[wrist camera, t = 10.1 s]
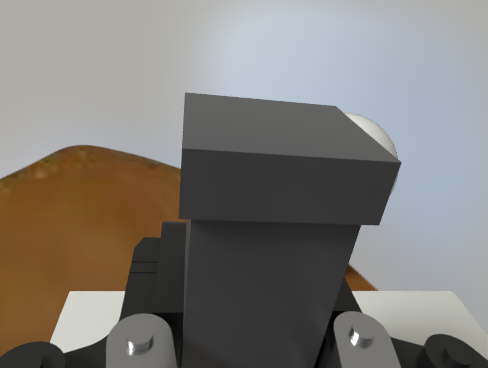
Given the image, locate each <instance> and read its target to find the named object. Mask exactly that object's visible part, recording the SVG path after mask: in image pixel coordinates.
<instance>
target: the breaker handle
mask: <svg viewBox="0 0 488 368" xmlns="http://www.w3.org/2000/svg"><path fill="white" fill-rule="evenodd" d="M400 165H401V162H400V161H399V160H398V159H397V158H396V157H395V156H393V155H392V154H391V153H390V152H389V151H387V150H386V149H385V148H384V147H383V146H382V145H380V144H379V143H378V142H377V141H376V140H375V139H373V138H372V137H371V136H370V135H369V134H368V133H366V132H365V131H364V130H363V129H362V128H361V127H359V126H358V125H357V124H356V123H355V122H354V121H352V120H351V119H350V118H349V117H348V116H347V115H345V114H344V113H343V112H342V111H341V110H339V109H338V108H337V107H336V106H326V105H317V104H316V105H315V104H306V103H294V102H283V101H272V100H261V99H251V98H239V97H228V96H217V95H206V94H195V93H185V105H184V123H183V142H182V162H181V182H180V203H179V219H187V228H186V244H185V277H184V316H183V331H182V346H181V361H180V368H314V365H315V362H316V359H317V356H318V353H319V350H320V347H321V344H322V341H323V338H324V335H325V332H326V329H327V326H328V323H329V320H330V317H331V314H332V311H333V308H334V305H335V302H336V299H337V296H338V293H339V290H340V287H341V284H342V281H343V278H344V275H345V272H346V269H347V266H348V263H349V260H350V257H351V254H352V251H353V248H354V245H355V242H356V239H357V236H358V233H359V230H360V227H361V225H379V224H380V221H381V218H382V215H383V213H384V210H385V207H386V204H387V201H388V199H389V196H390V193H391V190H392V188H393V185H394V182H395V179H396V177H397V174H398V171H399V168H400Z"/></svg>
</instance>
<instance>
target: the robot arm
mask: <svg viewBox="0 0 488 368" xmlns="http://www.w3.org/2000/svg"><path fill="white" fill-rule="evenodd" d="M185 244H186V222H167V221H163V223H162V232H161V238H146V237H144V238H143V239H142V240H141V241H140V243H139V244H138V245H137V246H136V247H135V248H134V253H133V257H132V264H131V267H130V271H129V276H128V281H127V286H126V290H125V295H124V300H123V304H122V309H121V314H120V318H119V321H118V323H117V324H116V325H115V326H114V327H113V328H112V329H111V331H110V333H109V334H108V335H107V336H106V337H104V338H103V339H101V340H100V341H98V342H96V343H94V344H91V345H89V346H86V347H83V348H79V349H76V350H73V351H69V352H66V353H63V351H62V350H61V349H60V348H59V347H58V346H56V345H54V344H52V343H48V342H31V343H26V344H23V345H20V346H18V347H15V348H13V349H12V350H10V351H8V352H7V353H5V354H4V355H2V356H1V357H0V368H180V361H181V346H182V331H183V316H184V277H185ZM314 368H488V360H487V359H486V358H484V357H483V356H482V355H481V354H480V353H478V352H477V351H476V350H475V349H473V348H472V347H471V346H469V345H468V344H467V343H465V342H464V341H462V340H460V339H458V338H456V337H453V336H450V335H446V334H434V335H431V336H430V337H429V338H428V339H427V340H426V342H425V344H424V346H422V345H418V344H415V343H411V342H407V341H403V340H399V339H396V338H393V337H390V336H389V334H388V332H387V330H386V329H385V328H384V327H383V325H382V324H380V323H379V322H378V321H377V320H375V319H374V318H372V317H371V316H369V315H366V314H364V313H363V312H362V311H361V309H360V307H359V305H358V303H357V301H356V299H355V297H354V295H353V293H352V291H351V289H350V287H349V285H348V283H347V282H346V280H345V278H343V281H342V284H341V287H340V290H339V293H338V296H337V299H336V302H335V305H334V308H333V311H332V314H331V317H330V320H329V323H328V326H327V329H326V332H325V335H324V338H323V341H322V344H321V347H320V350H319V353H318V356H317V359H316V362H315V365H314Z"/></svg>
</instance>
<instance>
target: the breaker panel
mask: <svg viewBox="0 0 488 368" xmlns="http://www.w3.org/2000/svg"><path fill="white" fill-rule="evenodd" d="M352 293H353V295H354V297H355V299H356V301H357V303H358V305H359V307H360V309H361V311H362V312H363V313H364V314H366V315H369V316H371V317H372V318H374V319H375V320H377V321H378V322H379V323H380V324H382V325H383V327H384V328H385V329H386V330H387V332H388V334H389V336H390V337H393V338H396V339H399V340H403V341H407V342H411V343H415V344H418V345H422V346H424V344H425V342H426V340H427V339H428V338H429V337H430V336H431V335H434V334H446V335H450V336H453V337H456V338H458V339H460V340H462V341H464V342H465V343H467V344H468V345H469V346H471V347H472V348H473V349H475V350H476V351H477V352H478V353H480V354H481V355H482V356H483V357H484V358H486V359H487V360H488V333H487V332H486V331H485V330H484V328H483V327H482V326H481V325H480V324H479V323H478V321H477V320H476V319H475V318H474V317H473V315H472V314H471V313H470V312H469V311H468V310H467V308H466V307H465V306H464V305H463V304H462V302H461V301H460V300H459V299H458V298H457V297H456V295H455V294H454V293H453V292H452V291H352ZM124 295H125V291H70V292H69V295H68V297H67V300H66V303H65V305H64V308H63V310H62V313H61V315H60V318H59V320H58V323H57V326H56V328H55V331H54V333H53V336H52V338H51V341H50V343H52V344H54V345H56V346H58V347H59V348H60V349H61V350H62V351H63V353H66V352H69V351H73V350H76V349H79V348H83V347H86V346H89V345H91V344H94V343H96V342H98V341H100V340H101V339H103V338H104V337H106V336H107V335H108V334H109V333H110V331H111V329H112V328H113V327H114V326H115V325H116V324H117V323H118V321H119V318H120V314H121V309H122V304H123V300H124Z"/></svg>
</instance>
